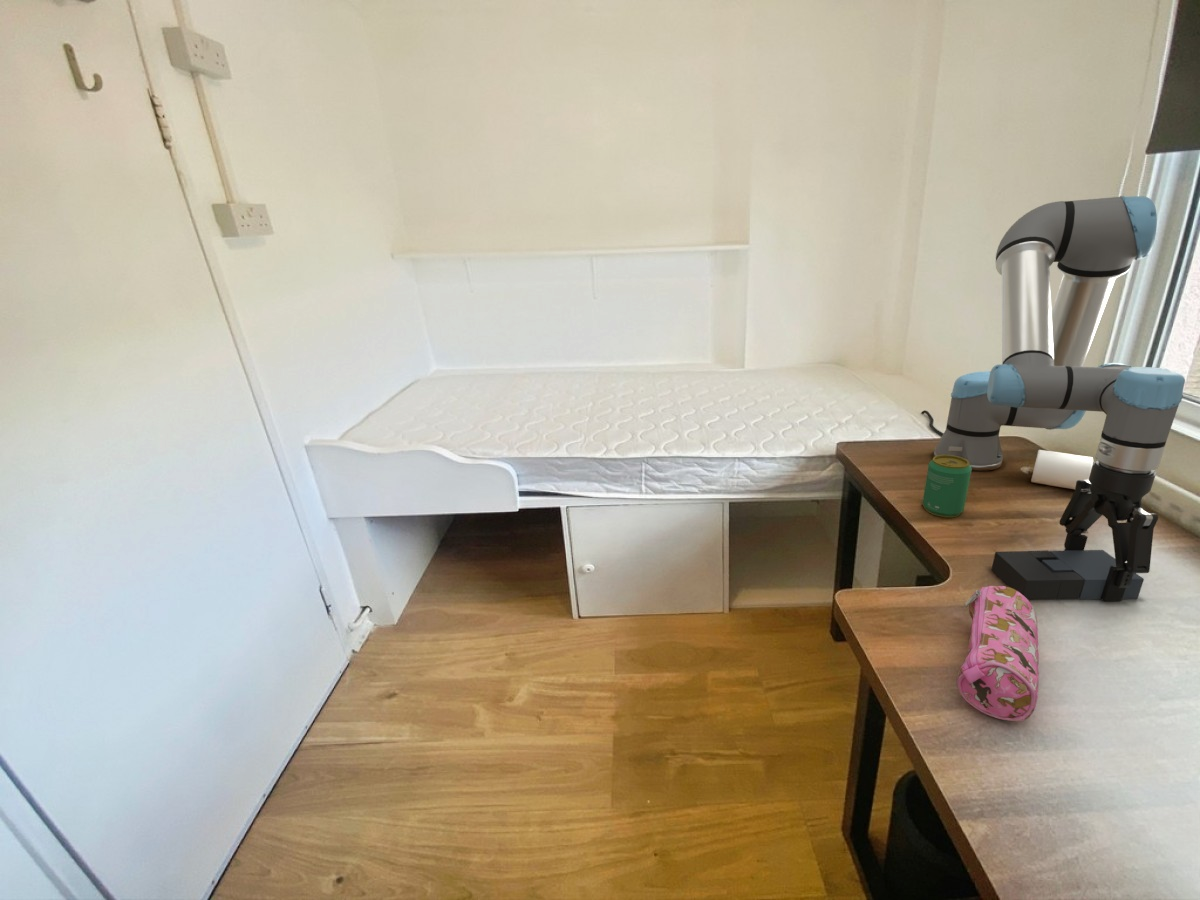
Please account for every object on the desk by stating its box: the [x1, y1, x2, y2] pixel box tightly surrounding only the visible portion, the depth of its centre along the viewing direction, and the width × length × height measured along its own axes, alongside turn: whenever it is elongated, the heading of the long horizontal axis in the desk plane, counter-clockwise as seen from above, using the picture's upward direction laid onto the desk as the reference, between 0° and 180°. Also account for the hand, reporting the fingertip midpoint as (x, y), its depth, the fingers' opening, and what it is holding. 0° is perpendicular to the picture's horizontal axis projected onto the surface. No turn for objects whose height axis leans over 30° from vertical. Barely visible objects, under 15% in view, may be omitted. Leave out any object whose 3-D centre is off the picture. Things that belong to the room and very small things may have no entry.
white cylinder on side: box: [1030, 449, 1094, 491], centre depth 130 cm, size 12×10×8 cm
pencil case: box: [955, 585, 1040, 722], centre depth 79 cm, size 21×9×9 cm, turn 146°
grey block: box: [1041, 549, 1145, 600], centre depth 96 cm, size 9×12×4 cm
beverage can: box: [922, 455, 973, 518], centre depth 122 cm, size 8×8×12 cm
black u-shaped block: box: [991, 550, 1084, 601], centre depth 97 cm, size 9×9×4 cm
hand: (1089, 582), depth 97 cm, fingers closed on grey block, 9 cm apart
